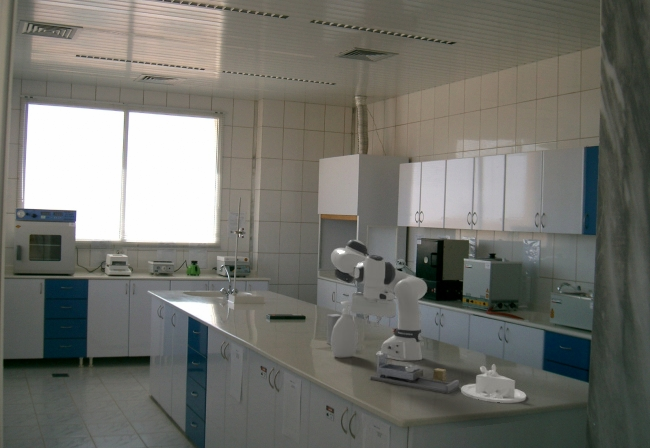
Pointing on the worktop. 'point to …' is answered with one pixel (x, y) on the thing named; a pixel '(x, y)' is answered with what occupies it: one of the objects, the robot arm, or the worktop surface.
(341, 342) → the soap bottle
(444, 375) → the wooden block
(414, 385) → the track
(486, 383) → the dish
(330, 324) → the skincare box
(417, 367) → the steel puck
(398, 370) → the long grey tray
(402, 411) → the worktop surface
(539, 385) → the worktop surface
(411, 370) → the steel puck
